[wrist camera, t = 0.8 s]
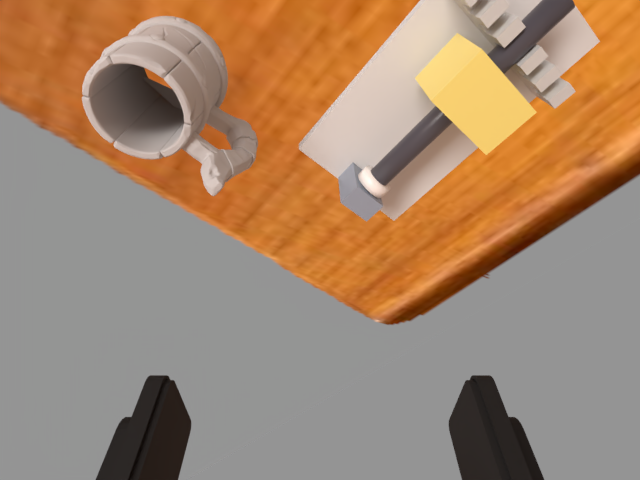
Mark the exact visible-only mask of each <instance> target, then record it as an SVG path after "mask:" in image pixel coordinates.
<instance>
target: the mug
mask: <svg viewBox="0 0 640 480" xmlns="http://www.w3.org/2000/svg"><path fill="white" fill-rule="evenodd" d="M145 68H146V69H148V70H150V71H152V72H154V73H155V74H157V75H158V76H160V77H161V78H164V80H165V81H166V82H167V84H168V85H169V86H170V87H171V88H172V89H171V88H169V87H166V86H164V85H162V84H160V83H158V82H155V81H153V80H151V79H149V78H148V76H147V74H146V72H145ZM227 86H228V73H227V67H226V63H225V60H224V57H223V54H222V52H221V50H220V48H219V47H218V45H217V44H216V42H215V41H214V40H213V39H212V38H211V37H210V36H209V35H208V34H207V33H206V32H204V31H203V30H202V29H201V28H200V27H199V26H197V25H196V24H194V23H191V22H189V21H187V20H185V19H182V18H178V17H173V16H158V17H153V18H150V19H148V20H146V21H143V22H141V23H140V24H138V25H137V26H136V27H135V29H132V30H131V31H130V32H129V34H128V36H126V37H124V38H122V39H120V40H118V41H116V42H114V43H113V44H112V45H110V46H109V47H107V48H105V49H104V51H103V52H102V55H101V57H100V59H99V60H97V61H96V62H95V64H94V65H93V66H92V67H91V68H90V70H89V71H88V72H87V74H86V76H85V79H84V82H83V86H82V95H84V96H83V97H82V102H83V107H84V110H85V112H86V115H87V117H88V119H89V121H90V122H91V124H92V126H93V127H94V128H95V130H96V131H97V132H98V133H99V134H100V135H101V136H102V137H103V138H104V139H105V140H107V141H108V142H109V143H112V142H114V141H115V142H114V144H113V145H114V147H115V148H116V149H118V150H119V151H121V152H123V153H126V154H128V155H130V156H134V157H137V158H142V159H151V160H152V159H161V158H163V157H169V156H171V155H173V154H175V153H176V152H178V151H179V150H180V149H183V150H184V151H186V152H187V153H188V154H189V155H191V156H192V157H193V158H195V159H196V160H198V161H199V162H200V163H201V164H202V167H201V176H202V179H203V183H204V186H205V188H206V190H207V191H208V193H209V194H210V195H212V196H215V195H217V194H218V193H219V192H220V191H221V189H222V188H223V187H224V185H225V182H228V181H229V180H230V179H231V178H233V177H234V176H236V175H238V174H240V173H242V172H243V171H245V170H247V169H249V168H250V167H251V166H252V164H253V163H254V161H255V159H256V152H257V147H258V140H257V136H256V133H255V131H253V130H252V128H251V125H250V124H249V123H248V122H246V121H245V120H242V119H238V118H236V117H234V116H231V115H229V114H227V113H226V112H224V111H222V110H221V109H219V107H220V105H221V104H222V102H223V100H224V98H225V95H226V92H227ZM160 95H161V96H160ZM205 123H206V124H208V125H210V126H212V127H213V128H215V129H216V130H218V131H220V132H222V133H224V134H225V135H227V137H226V139H227V140H228V142H229V144H230V146H231V149H232V150H225V149H221V150H219V149H217V148H216V147H214V146H213V145H211V144H210V143H209V142H207V141H206V140H205V139H203V138H202V137H201V136H200V135H199V134H200V132H201V131H202V130H203V129H204V126H205Z"/></svg>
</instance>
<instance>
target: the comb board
mask: <svg viewBox="0 0 640 480" xmlns="http://www.w3.org/2000/svg"><path fill="white" fill-rule="evenodd" d="M457 33H458V34H460V35H461V36H463V37H464V38H466V39H467V40H469V41H470V42H472V43H473V44H475V45H476V46H478V47H480V48H481V49H482V50H483V51H484V52H485V53H486V54H487V55H488V56H489V58H490V59H491V60H492V61H493V62H494V63H495V65H496V66H497V67H498V68H499V69H500V70H501V71H502V73H503V74H504V75H505V76H506V77H507V78H508V80H509V81H510V82H511V83H512V84H513V85H514V86H515V88H516V89H517V90H518V91H519V92H520V93H521V95H522V96H523V97H524V98H525V99H526V100H527V102H528V103H530V102H531V101H532V100H533V99H535V98H536V97H538V98H540V99H541V100H543V101H545V102H546V103H547V104H549V105H550V106H552V107H553V108H554V109H555V108H557V107H558V106H559V105H560V104H561V103H563V102H564V101H565V100H566V99H567V98H569V97H570V96H571V95H572V94H573V93H575V92H576V91H575V90H574V88H573V87H572V86H571V84H570V83H569V82H567V81H565V80H563V79H561V78H560V76H561V75H562V74H563V73H564V72H566V71H567V70H568V69H569V68H570V67H571V66H572V65H574V64H575V63H576V62H577V61H578V60H579V59H581V58H582V57H583V56H584V55H585V54H586V53H587V52H589V51H590V50H591V49H592V48H593V47H594V46H595V45H597V44H598V43H599V42H600V41H599V39H598V38H597V36H596V35H595V33H594V32H593V31H592V29H591V28H590V26H589V25H588V23H587V22H586V20H585V19H584V17H583V16H582V14H581V13H580V12H579V10H578V9H577V7H576V6H575V4H574V2H573V0H420V1H419V2H418V3H417V5H416V6H415V7H414V8H413V9H412V11H411V12H410V13H409V14H408V15H407V16H406V18H405V19H404V20H403V21H402V22H401V24H400V25H399V26H398V27H397V28H396V29H395V31H394V32H393V33H392V34H391V35H390V37H389V38H388V39H387V40H386V41H385V42H384V44H383V45H382V46H381V47H380V48H379V50H378V51H377V52H376V53H375V54H374V55H373V57H372V58H371V59H370V60H369V61H368V63H367V64H366V65H365V66H364V67H363V69H362V70H361V71H360V72H359V73H358V74H357V76H356V77H355V78H354V79H353V80H352V82H351V83H350V84H349V85H348V86H347V87H346V89H345V90H344V91H343V92H342V93H341V95H340V96H339V97H338V98H337V99H336V100H335V102H334V103H333V104H332V105H331V106H330V108H329V109H328V110H327V111H326V112H325V113H324V115H323V116H322V117H321V118H320V119H319V121H318V122H317V123H316V124H315V125H314V126H313V128H312V129H311V130H310V131H309V132H308V134H307V135H306V136H305V137H304V138H303V140H302V141H301V142H300V143H299V150H300V151H302V152H303V153H304V154H306V155H307V156H308V157H310V158H311V159H312V160H314V161H315V162H316V163H318V164H319V165H320V166H322V167H323V168H324V169H326V170H327V171H328V172H330V173H331V174H332V175H334V176H335V177H336V178H338V181H339V191H340V202H341V203H342V204H343V205H344V206H346V207H347V208H348V209H350V210H351V211H353V212H354V213H355V214H357V215H358V216H360V217H361V218H362V219H364V220H365V221H368V220H369V219H370V218H371V217H372V216H373V215H374V214H376V213H377V212H378V211H379V210H380V211H382V212H383V213H384V214H386V215H387V216H388V217H390V218H391V219H392V220H394V221H395V220H396V219H397V218H398V217H399V216H400V215H401V214H403V213H404V212H405V211H406V210H407V209H408V208H409V207H411V206H412V205H413V204H414V203H415V202H416V201H418V200H419V199H420V198H421V197H422V196H423V195H424V194H426V193H427V192H428V191H429V190H430V189H431V188H432V187H434V186H435V185H436V184H437V183H438V182H439V181H440V180H442V179H443V178H444V177H445V176H446V175H447V174H449V173H450V172H451V171H452V170H453V169H454V168H455V167H457V166H458V165H459V164H460V163H461V162H462V161H463V160H465V159H466V158H467V157H468V156H469V155H470V154H471V153H473V152H474V151H475V150H476V149H477V148H478V147H477V146H476V145H475V144H474V143H473V142H472V141H471V140H470V139H469V138H468V137H467V136H466V135H465V134H464V133H463V132H462V131H461V130H460V129H459V128H458V127H457V126H456V125H455V124H454V123H453V122H452V121H451V120H450V119H449V118H448V117H447V116H446V115H445V114H444V113H443V112H442V111H441V110H440V109H439V108H438V107H437V106H436V105H435V104H434V103H433V102H432V101H431V100H430V99H429V97H428V96H427V95H426V93H425V92H424V90H423V89H422V88H421V86H420V85H419V83H418V82H417V81H416V79H415V77H416V76H417V75H418V74H419V73H420V72H421V71H422V70H423V69H424V68H425V67H426V66H427V65H428V64H429V62H430V61H431V60H432V59H433V58H434V57H435V56H436V55H437V54H438V53H439V52H440V51H441V50H442V49H443V47H444V46H445V45H446V44H447V43H448V42H449V41H450V40H451V39H452V38H453V37H454V36H455V35H456V34H457Z"/></svg>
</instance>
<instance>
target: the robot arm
mask: <svg viewBox="0 0 640 480" xmlns="http://www.w3.org/2000/svg"><path fill="white" fill-rule="evenodd" d="M190 431H191V419H190V416H189V414H188V412H187V409H186V407H185V404H184V402H183V400H182V397H181V395H180V393H179V390H178V388H177V385H176V383H175V381H174V380H170V378H169V376H167V375H150V376H148V378H147V379H146V381H145V383H144V386H143V388H142V391H141V394H140V396H139V399H138V401H137V404H136V407H135V409H134V412H133V414H132V417H125V418H123V419H122V420H121V421H120V423H119V424H118V426H117V428H116V431H115V433H114V436H113V438H112V441H111V443H110V445H109V448H108V450H107V453H106V455H105V458H104V460H103V463H102V465H101V468H100V470H99V472H98V475H97V477H96V480H178V478H179V474H180V470H181V467H182V463H183V459H184V455H185V451H186V447H187V443H188V439H189V436H190ZM449 431H450V435H451V439H452V443H453V447H454V451H455V455H456V459H457V463H458V466H459V470H460V474H461V478H462V480H544V477H543V475H542V473H541V470H540V468H539V465H538V463H537V460H536V458H535V455H534V453H533V450H532V448H531V445H530V443H529V441H528V438H527V436H526V433H525V431H524V428H523V426H522V424H521V423H520V421H519V420H518V419H517V418H515V417H508V414H507V412H506V409H505V407H504V404H503V401H502V399H501V396H500V394H499V391H498V389H497V386H496V383H495V381H494V379H493V378H492V376H490V375H473V376H471V378H470V380H466V381H465V383H464V385H463V388H462V390H461V393H460V395H459V397H458V400H457V402H456V404H455V407H454V409H453V412H452V414H451V416H450V419H449Z"/></svg>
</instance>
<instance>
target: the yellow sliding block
mask: <svg viewBox="0 0 640 480" xmlns="http://www.w3.org/2000/svg"><path fill="white" fill-rule="evenodd" d="M415 79H416V81H417V82H418V83H419V85H420V86H421V88H422V89H423V90H424V92H425V93H426V95H427V96H428V97H429V99H430V100H431V101H432V102H433V103H434V104H435V105H436V106H437V107H438V108H439V109H440V110H441V111H442V112H443V113H444V114H445V115H446V116H447V117H448V118H449V119H450V120H451V121H452V122H453V123H454V124H455V125H456V126H457V127H458V128H459V129H460V130H461V131H462V132H463V133H464V134H465V135H466V136H467V137H468V138H469V139H470V140H471V141H472V142H473V143H474V144H475V145H476V146H477V147H478V148H479V149H480V150H481V151H482V152H483V153H484V154H485V155H487V154H488V153H490V152H491V151H492V150H493V149H494V148H496V147H497V146H498V145H499V144H500V143H501V142H503V141H504V140H505V139H506V138H507V137H508V136H510V135H511V134H512V133H513V132H514V131H516V130H517V129H518V128H519V127H520V126H521V125H523V124H524V123H525V122H526V121H527V120H528V119H530V118H531V117H532V116H533V115H534V114H536V113H537V112H536V111H535V110H534V108H533V107H532V106H531V105H530V104H529V103H528V102H527V100H526V99H525V98H524V97H523V96H522V95H521V93H520V92H519V91H518V90H517V89H516V88H515V86H514V85H513V84H512V83H511V82H510V81H509V80H508V78H507V77H506V76H505V75H504V74H503V73H502V71H501V70H500V69H499V68H498V67H497V66H496V65H495V63H494V62H493V61H492V60H491V59H490V58H489V56H488V55H487V54H486V53H485V52H484V51H483V50H482V49H481V48H480V47H478V46H476V45H475V44H473V43H472V42H470V41H469V40H467V39H466V38H464V37H463V36H461V35H460V34H458V33H457V34H456V35H455V36H454V37H453V38H452V39H451V40H450V41H449V42H448V43H447V44H446V45H445V46H444V47H443V49H442V50H441V51H440V52H439V53H438V54H437V55H436V56H435V57H434V58H433V59H432V60H431V61H430V62H429V64H428V65H427V66H426V67H425V68H424V69H423V70H422V71H421V72H420V73H419V74H418V75H417V76H416V77H415Z"/></svg>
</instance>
